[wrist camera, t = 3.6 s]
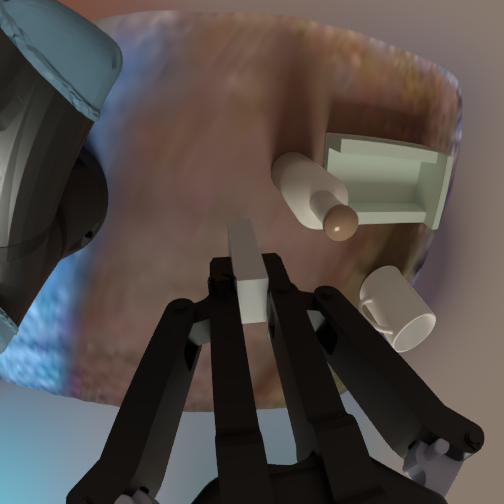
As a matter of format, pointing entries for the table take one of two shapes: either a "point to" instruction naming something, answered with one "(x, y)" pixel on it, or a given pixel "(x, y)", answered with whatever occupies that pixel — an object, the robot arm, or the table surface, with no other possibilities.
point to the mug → (396, 308)
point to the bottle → (314, 195)
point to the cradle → (389, 178)
